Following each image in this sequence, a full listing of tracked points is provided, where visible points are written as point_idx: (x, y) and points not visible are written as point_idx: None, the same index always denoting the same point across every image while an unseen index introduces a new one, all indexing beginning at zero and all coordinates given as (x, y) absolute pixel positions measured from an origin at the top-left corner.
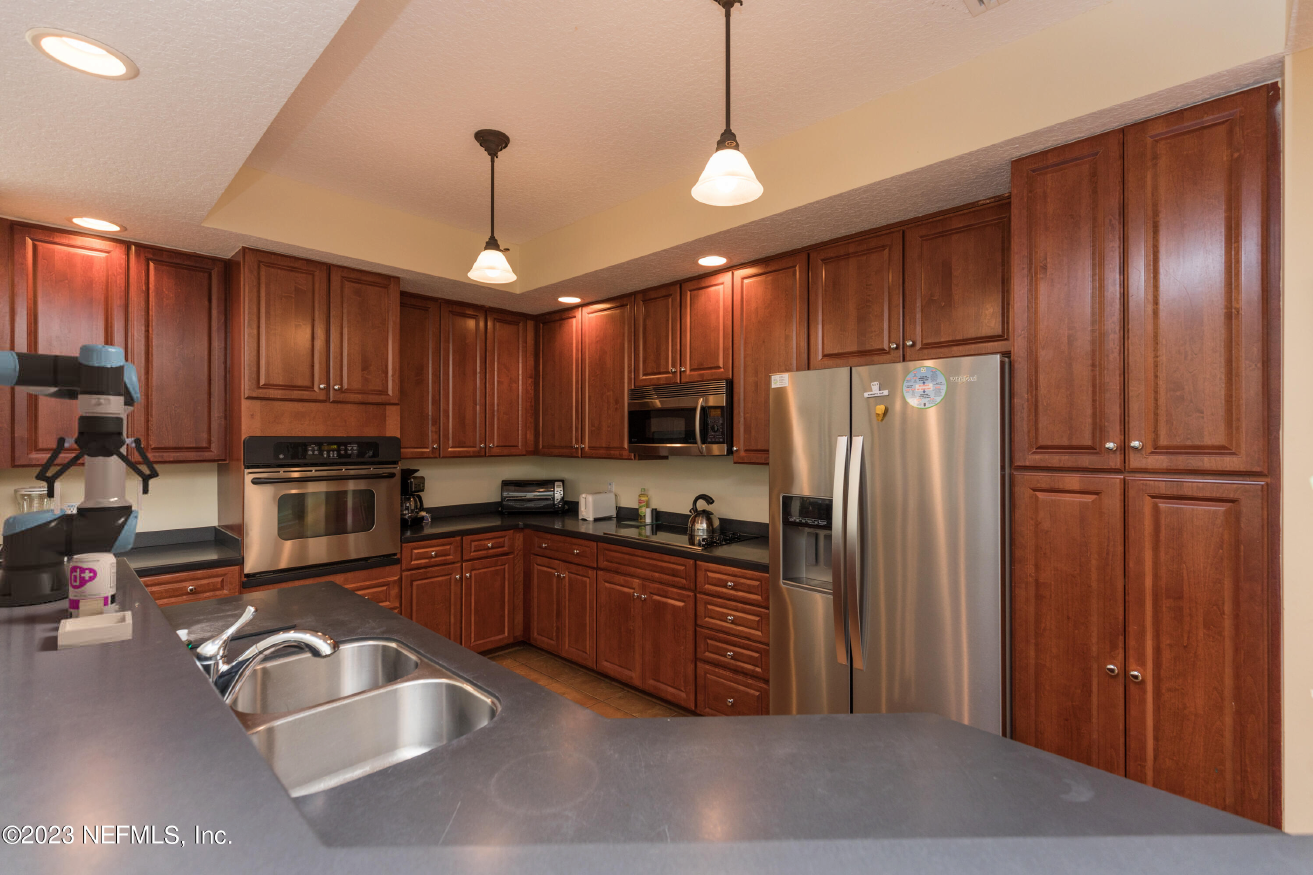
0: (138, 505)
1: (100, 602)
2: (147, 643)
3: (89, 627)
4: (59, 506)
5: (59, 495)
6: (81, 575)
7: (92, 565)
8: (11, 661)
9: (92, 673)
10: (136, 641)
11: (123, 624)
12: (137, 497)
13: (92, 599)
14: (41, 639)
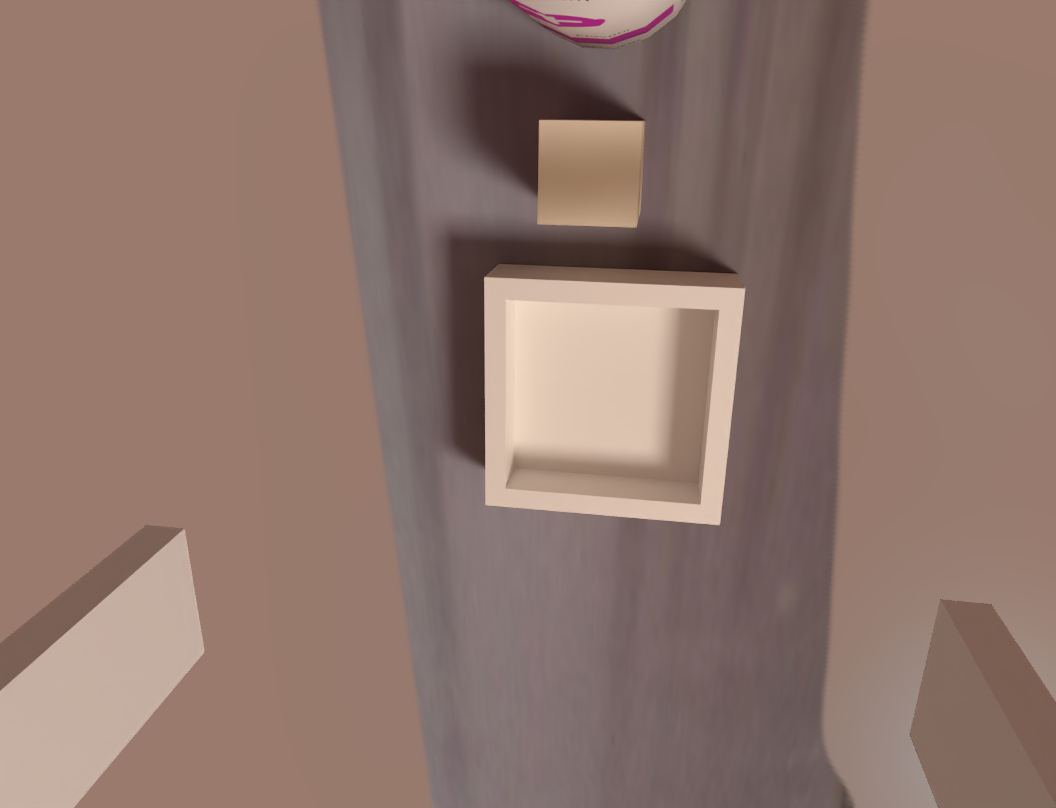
0: (935, 784)
1: (624, 226)
2: (750, 593)
3: (579, 495)
4: (147, 621)
5: (53, 760)
6: (520, 6)
7: (571, 13)
8: (391, 515)
9: (587, 783)
10: (723, 540)
11: (689, 521)
12: (1001, 729)
13: (592, 137)
14: (440, 267)
